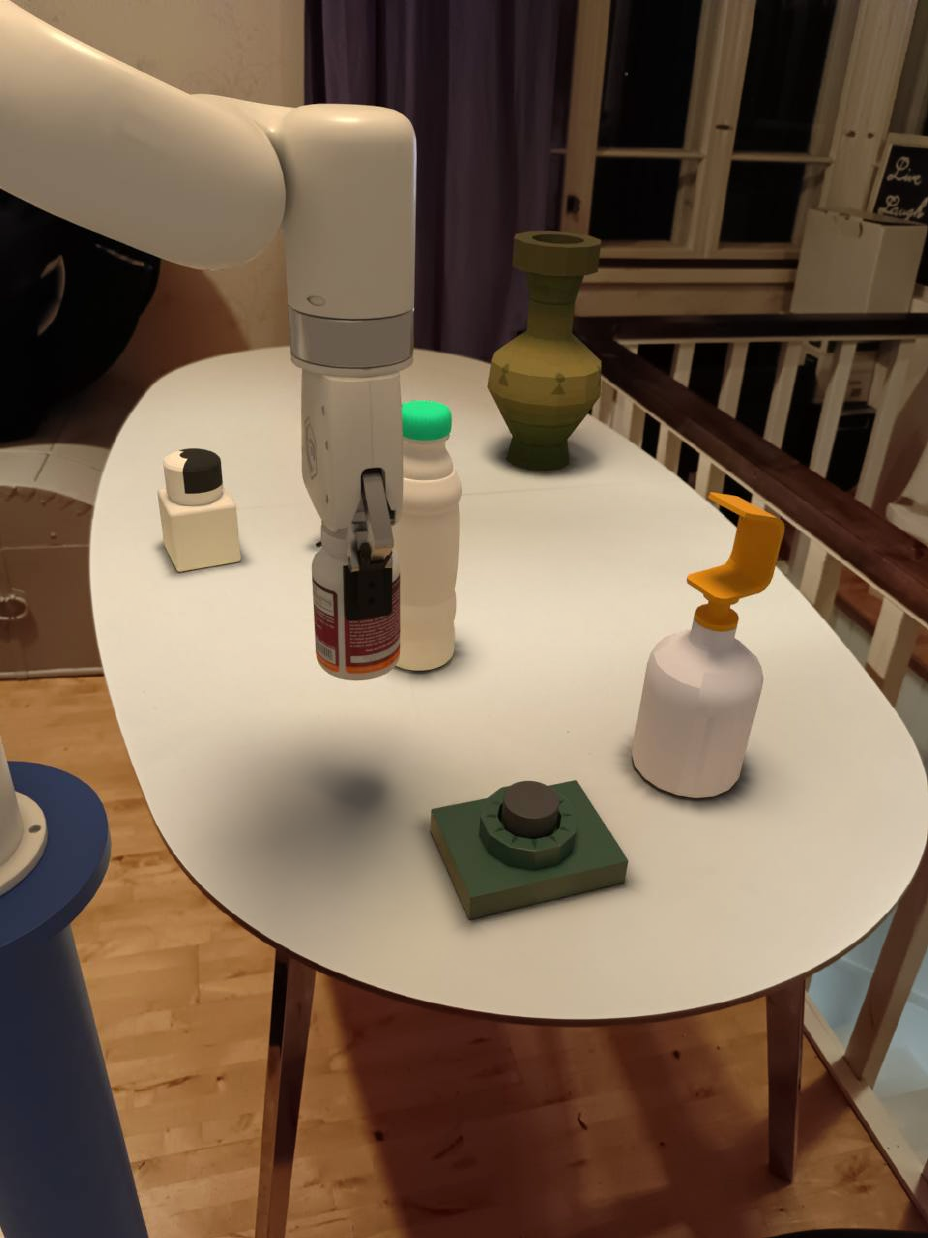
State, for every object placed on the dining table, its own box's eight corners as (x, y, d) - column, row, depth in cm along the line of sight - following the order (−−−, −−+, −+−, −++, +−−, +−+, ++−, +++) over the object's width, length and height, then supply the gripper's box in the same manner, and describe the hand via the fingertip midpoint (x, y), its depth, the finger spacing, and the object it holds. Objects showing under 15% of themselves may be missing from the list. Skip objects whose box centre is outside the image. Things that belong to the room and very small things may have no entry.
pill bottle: (409, 644, 73) (412, 512, 67) (387, 690, 67) (387, 552, 62) (331, 631, 74) (327, 501, 68) (303, 676, 68) (296, 539, 63)
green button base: (468, 919, 66) (471, 878, 64) (430, 830, 73) (431, 790, 71) (624, 882, 69) (632, 842, 67) (573, 800, 76) (579, 762, 74)
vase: (575, 490, 129) (602, 256, 113) (465, 468, 134) (476, 241, 118) (606, 450, 142) (634, 235, 126) (504, 431, 147) (519, 222, 131)
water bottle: (436, 628, 97) (444, 389, 84) (466, 664, 92) (480, 415, 79) (371, 642, 95) (369, 397, 82) (398, 680, 89) (401, 424, 76)
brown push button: (513, 845, 67) (515, 823, 66) (493, 807, 70) (495, 786, 69) (565, 833, 68) (568, 812, 67) (543, 796, 71) (546, 776, 70)
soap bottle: (609, 749, 82) (652, 485, 69) (689, 720, 86) (743, 465, 73) (679, 814, 76) (740, 536, 63) (761, 779, 80) (835, 511, 67)
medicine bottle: (225, 535, 113) (216, 439, 107) (241, 562, 108) (233, 462, 101) (163, 545, 110) (150, 447, 104) (177, 573, 105) (164, 471, 98)
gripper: (267, 303, 64) (282, 542, 73) (319, 383, 50) (329, 666, 59) (376, 299, 66) (377, 532, 75) (455, 375, 52) (444, 649, 62)
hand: (356, 589), depth 67 cm, fingers closed on pill bottle, 6 cm apart
